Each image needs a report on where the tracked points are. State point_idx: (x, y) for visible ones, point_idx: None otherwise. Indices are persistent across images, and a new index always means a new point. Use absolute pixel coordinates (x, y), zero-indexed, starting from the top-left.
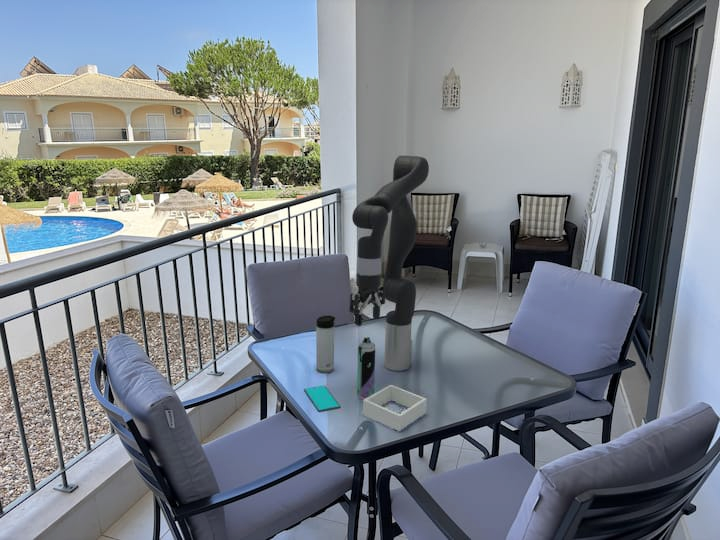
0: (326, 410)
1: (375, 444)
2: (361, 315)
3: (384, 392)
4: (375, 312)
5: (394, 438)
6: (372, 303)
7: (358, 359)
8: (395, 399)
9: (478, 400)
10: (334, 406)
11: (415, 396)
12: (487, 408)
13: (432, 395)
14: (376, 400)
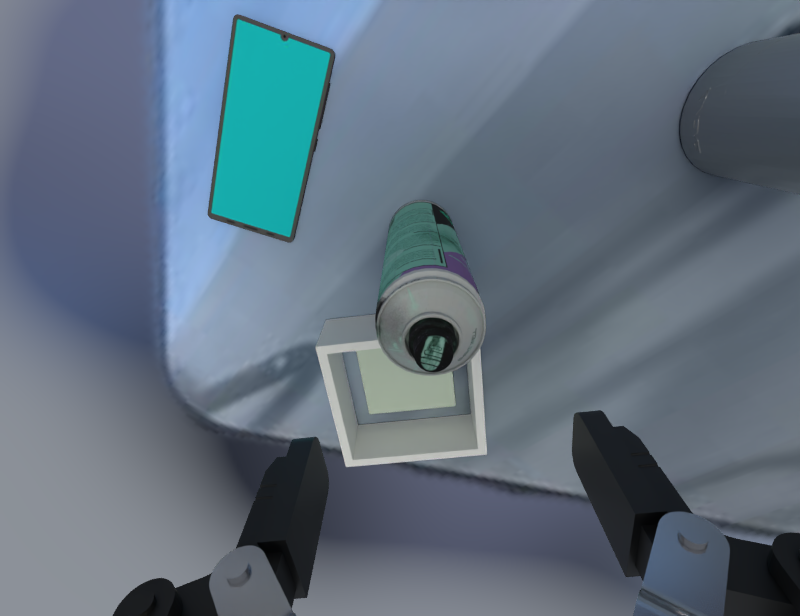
0: (238, 225)
1: (267, 429)
2: (296, 586)
3: None
4: (600, 486)
5: (323, 439)
6: (648, 563)
7: (382, 277)
8: None
9: None
10: (272, 228)
11: (476, 424)
12: None
13: (589, 369)
14: None
